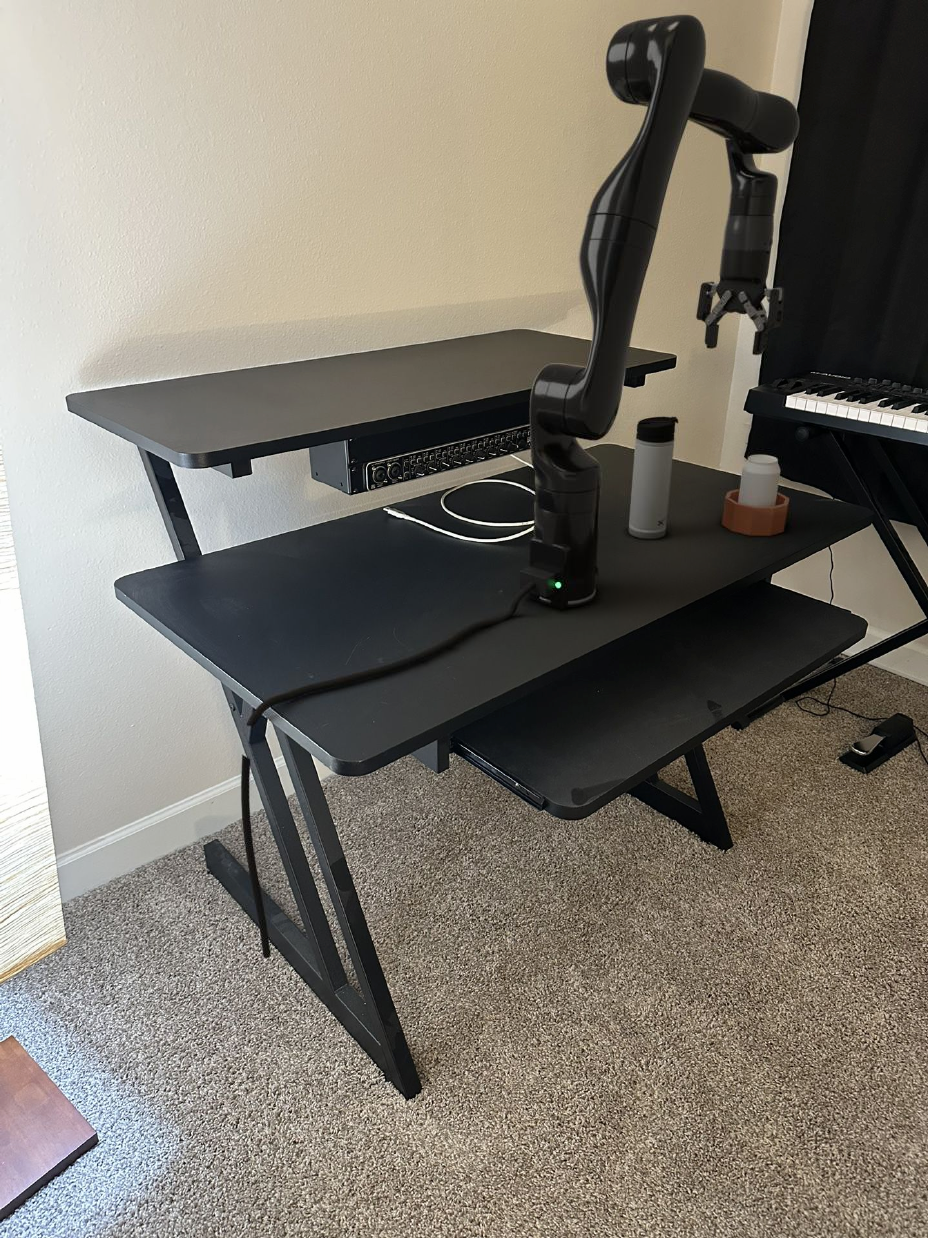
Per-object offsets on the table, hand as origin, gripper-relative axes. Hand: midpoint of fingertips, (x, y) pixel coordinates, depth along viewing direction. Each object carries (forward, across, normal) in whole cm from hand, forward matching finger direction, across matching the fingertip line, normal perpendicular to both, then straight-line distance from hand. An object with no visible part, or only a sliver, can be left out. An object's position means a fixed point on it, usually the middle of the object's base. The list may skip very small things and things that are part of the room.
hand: (734, 351), depth 149 cm
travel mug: (+29, -4, -15) cm, 33 cm away
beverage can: (+29, +8, +1) cm, 30 cm away
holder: (+29, +8, +1) cm, 30 cm away
